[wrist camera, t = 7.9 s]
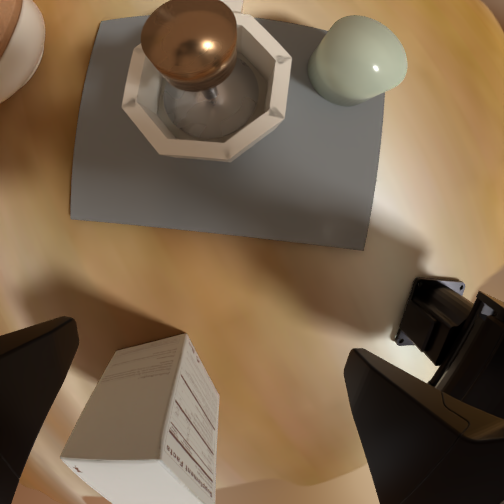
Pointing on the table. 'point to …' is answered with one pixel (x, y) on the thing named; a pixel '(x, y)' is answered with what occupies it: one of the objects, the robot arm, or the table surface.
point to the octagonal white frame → (228, 147)
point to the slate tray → (225, 173)
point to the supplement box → (149, 428)
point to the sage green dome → (356, 61)
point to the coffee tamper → (200, 67)
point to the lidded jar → (19, 44)
